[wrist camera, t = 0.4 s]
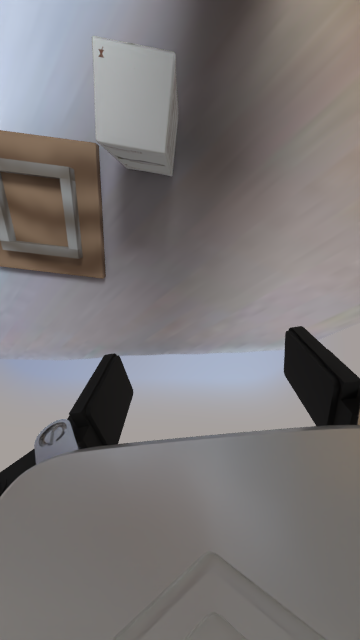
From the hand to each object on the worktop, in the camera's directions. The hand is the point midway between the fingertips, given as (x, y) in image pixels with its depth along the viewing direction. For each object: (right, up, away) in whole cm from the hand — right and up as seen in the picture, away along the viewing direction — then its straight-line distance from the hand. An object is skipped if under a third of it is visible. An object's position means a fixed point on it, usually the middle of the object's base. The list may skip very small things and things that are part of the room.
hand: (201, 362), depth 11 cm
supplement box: (-5, +29, +19) cm, 35 cm away
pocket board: (-24, +21, +23) cm, 40 cm away
